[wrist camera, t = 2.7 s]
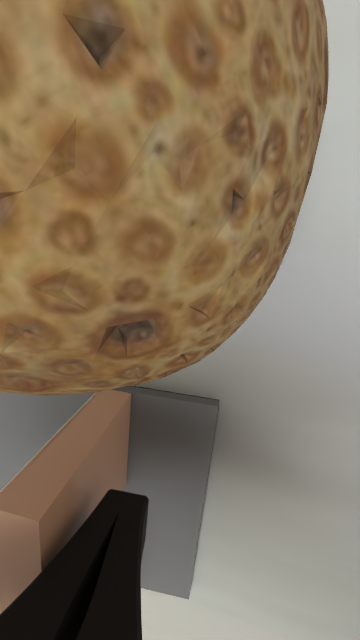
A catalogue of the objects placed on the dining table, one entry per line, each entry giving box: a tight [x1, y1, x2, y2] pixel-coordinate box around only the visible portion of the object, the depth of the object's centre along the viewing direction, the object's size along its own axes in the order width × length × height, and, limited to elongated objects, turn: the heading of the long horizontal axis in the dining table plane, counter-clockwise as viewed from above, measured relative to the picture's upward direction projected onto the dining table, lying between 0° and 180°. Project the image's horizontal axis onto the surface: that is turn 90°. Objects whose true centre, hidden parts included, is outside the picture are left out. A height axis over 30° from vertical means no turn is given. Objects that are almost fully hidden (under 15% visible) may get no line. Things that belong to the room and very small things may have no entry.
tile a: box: [0, 389, 131, 614], centre depth 10 cm, size 2×5×6 cm, turn 175°
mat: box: [0, 386, 219, 599], centre depth 15 cm, size 12×12×1 cm
